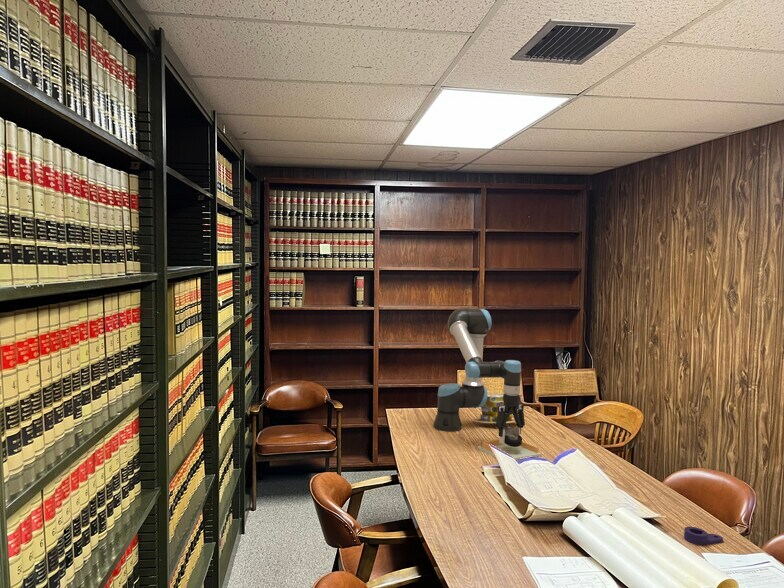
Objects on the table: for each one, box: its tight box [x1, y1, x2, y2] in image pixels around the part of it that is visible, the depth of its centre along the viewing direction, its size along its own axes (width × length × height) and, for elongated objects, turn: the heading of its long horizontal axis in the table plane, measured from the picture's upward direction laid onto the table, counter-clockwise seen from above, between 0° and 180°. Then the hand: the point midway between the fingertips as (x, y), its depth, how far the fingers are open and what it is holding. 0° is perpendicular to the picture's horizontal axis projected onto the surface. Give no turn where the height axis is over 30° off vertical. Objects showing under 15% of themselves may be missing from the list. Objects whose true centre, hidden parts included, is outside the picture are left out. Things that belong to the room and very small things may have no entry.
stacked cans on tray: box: [472, 393, 516, 427], centre depth 296 cm, size 25×25×17 cm
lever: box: [683, 526, 724, 546], centre depth 164 cm, size 12×6×3 cm, turn 98°
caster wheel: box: [503, 423, 523, 447], centre depth 244 cm, size 7×11×10 cm
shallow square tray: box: [477, 439, 542, 459], centre depth 244 cm, size 20×21×4 cm
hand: (509, 442), depth 244 cm, fingers closed on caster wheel, 9 cm apart
